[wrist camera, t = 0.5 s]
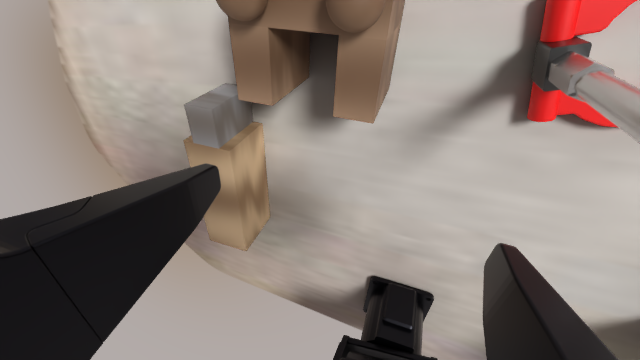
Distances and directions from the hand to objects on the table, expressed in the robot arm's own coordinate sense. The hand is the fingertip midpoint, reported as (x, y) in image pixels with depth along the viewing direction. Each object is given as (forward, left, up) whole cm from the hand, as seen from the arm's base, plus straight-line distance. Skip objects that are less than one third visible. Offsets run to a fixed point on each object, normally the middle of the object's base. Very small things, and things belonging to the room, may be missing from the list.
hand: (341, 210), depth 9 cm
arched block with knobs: (+3, +4, -13) cm, 14 cm away
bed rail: (-9, +12, -13) cm, 20 cm away
